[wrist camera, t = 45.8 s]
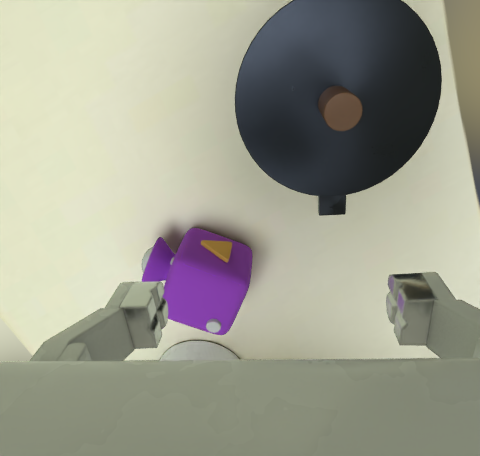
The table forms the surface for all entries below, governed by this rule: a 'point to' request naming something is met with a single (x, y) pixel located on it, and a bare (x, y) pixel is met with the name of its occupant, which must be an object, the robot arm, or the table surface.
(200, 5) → the table surface
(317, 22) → the pot lid
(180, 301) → the toy camera
